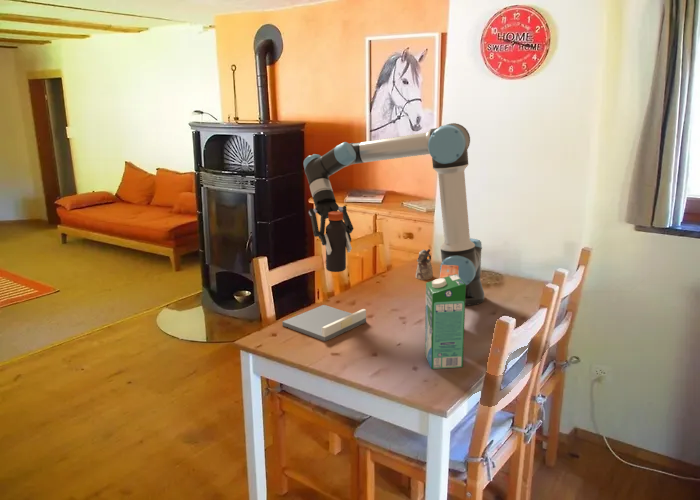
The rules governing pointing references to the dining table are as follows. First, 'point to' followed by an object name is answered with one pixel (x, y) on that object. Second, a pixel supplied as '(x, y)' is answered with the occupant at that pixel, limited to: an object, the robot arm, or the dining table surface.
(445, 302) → the milk carton
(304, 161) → the robot arm
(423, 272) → the figurine
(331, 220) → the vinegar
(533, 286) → the dining table surface
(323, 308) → the grey flat square slab
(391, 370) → the dining table surface
